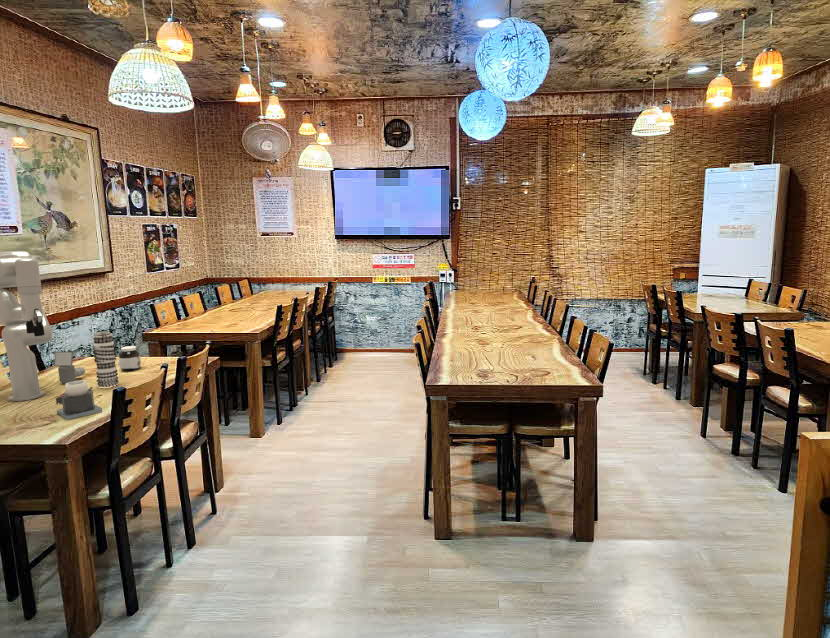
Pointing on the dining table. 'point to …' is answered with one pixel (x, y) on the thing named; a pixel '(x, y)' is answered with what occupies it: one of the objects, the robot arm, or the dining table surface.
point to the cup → (76, 388)
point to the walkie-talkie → (59, 398)
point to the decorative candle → (105, 359)
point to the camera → (67, 367)
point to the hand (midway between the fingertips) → (35, 334)
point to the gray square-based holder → (78, 406)
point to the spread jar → (129, 359)
